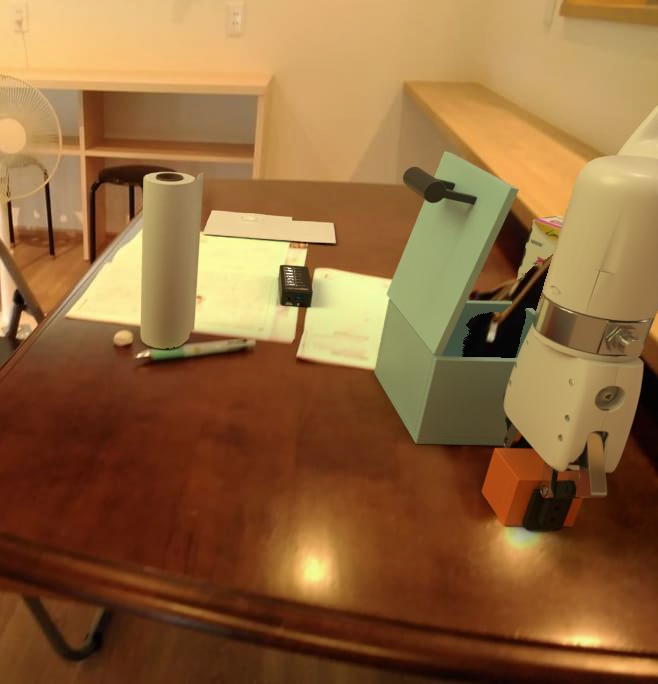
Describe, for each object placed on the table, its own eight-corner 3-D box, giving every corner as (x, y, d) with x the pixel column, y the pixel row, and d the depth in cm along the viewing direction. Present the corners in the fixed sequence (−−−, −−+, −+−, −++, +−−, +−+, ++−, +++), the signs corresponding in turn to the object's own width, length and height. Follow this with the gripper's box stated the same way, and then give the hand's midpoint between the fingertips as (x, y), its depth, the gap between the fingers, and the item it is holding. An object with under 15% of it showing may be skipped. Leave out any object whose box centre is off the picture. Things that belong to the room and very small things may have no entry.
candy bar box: (496, 335, 93) (530, 217, 85) (524, 330, 94) (559, 214, 87) (569, 374, 84) (614, 246, 76) (598, 368, 85) (645, 241, 78)
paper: (202, 236, 127) (202, 230, 127) (208, 210, 142) (208, 205, 142) (340, 245, 124) (340, 240, 124) (331, 218, 139) (332, 213, 139)
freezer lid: (451, 152, 71) (398, 140, 70) (519, 189, 58) (455, 174, 57) (392, 295, 78) (344, 285, 78) (441, 356, 65) (383, 344, 65)
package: (545, 493, 63) (561, 448, 61) (572, 526, 59) (590, 480, 57) (480, 492, 63) (494, 447, 61) (503, 525, 59) (518, 479, 57)
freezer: (502, 375, 83) (524, 301, 78) (568, 447, 70) (599, 363, 66) (373, 373, 83) (388, 298, 78) (415, 444, 70) (436, 359, 65)
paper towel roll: (139, 349, 87) (143, 181, 77) (140, 328, 92) (143, 169, 82) (196, 351, 87) (207, 183, 77) (194, 330, 92) (203, 170, 82)
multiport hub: (306, 279, 109) (308, 266, 108) (310, 307, 100) (313, 292, 99) (278, 277, 110) (279, 264, 109) (280, 305, 100) (282, 290, 99)
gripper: (719, 379, 45) (626, 580, 54) (577, 282, 60) (521, 451, 69) (606, 377, 45) (530, 579, 54) (492, 280, 60) (447, 450, 69)
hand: (526, 505), depth 61 cm, fingers closed on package, 4 cm apart
